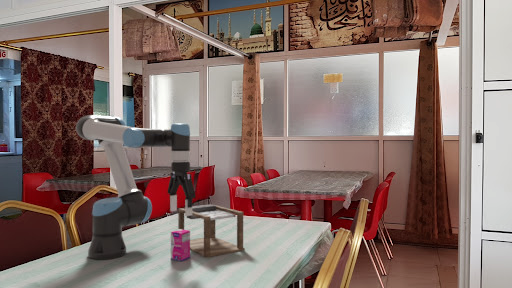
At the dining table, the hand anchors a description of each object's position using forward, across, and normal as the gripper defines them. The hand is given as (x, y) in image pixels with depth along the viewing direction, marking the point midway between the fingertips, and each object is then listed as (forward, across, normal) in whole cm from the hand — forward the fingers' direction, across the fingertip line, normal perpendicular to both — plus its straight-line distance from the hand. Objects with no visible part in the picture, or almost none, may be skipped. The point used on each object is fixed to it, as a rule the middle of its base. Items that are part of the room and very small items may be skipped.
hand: (180, 213), depth 162 cm
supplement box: (+19, 0, 0) cm, 19 cm away
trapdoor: (+6, +8, -19) cm, 22 cm away
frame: (+19, +9, -19) cm, 28 cm away
